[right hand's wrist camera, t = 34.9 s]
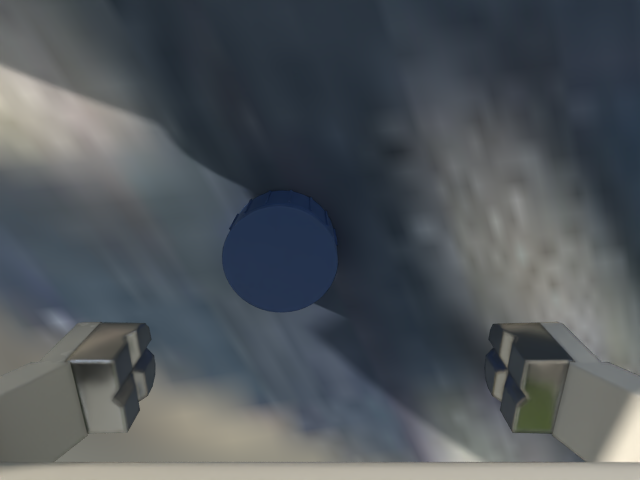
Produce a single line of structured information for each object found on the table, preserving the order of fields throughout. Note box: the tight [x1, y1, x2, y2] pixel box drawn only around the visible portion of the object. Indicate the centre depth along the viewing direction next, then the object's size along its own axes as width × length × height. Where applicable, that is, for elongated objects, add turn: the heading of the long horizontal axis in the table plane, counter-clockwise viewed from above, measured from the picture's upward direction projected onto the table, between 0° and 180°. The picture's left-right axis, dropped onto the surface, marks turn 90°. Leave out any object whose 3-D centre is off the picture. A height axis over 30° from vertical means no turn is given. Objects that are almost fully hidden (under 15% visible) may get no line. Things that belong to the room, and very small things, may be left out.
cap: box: [222, 190, 338, 312], centre depth 15 cm, size 4×4×2 cm
